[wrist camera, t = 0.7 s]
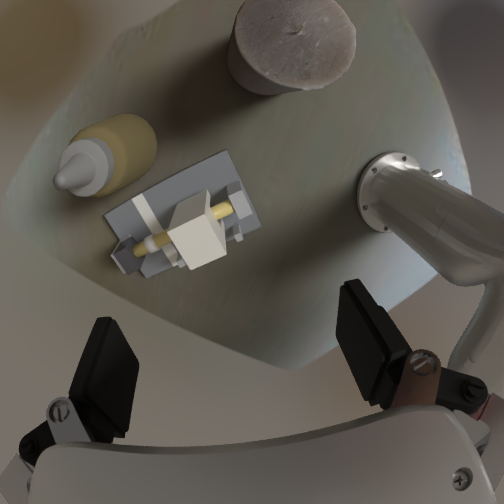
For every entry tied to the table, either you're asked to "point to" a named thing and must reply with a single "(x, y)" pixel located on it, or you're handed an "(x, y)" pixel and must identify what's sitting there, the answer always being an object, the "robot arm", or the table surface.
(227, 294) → the table surface
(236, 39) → the pillar candle
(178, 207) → the white block
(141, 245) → the gray assembly board
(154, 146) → the squeeze bottle
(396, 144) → the table surface
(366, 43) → the table surface
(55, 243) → the table surface
